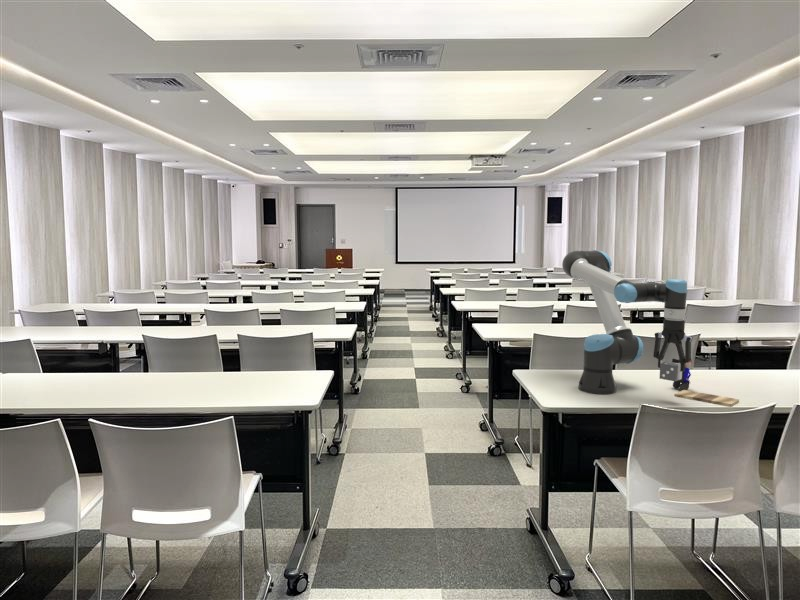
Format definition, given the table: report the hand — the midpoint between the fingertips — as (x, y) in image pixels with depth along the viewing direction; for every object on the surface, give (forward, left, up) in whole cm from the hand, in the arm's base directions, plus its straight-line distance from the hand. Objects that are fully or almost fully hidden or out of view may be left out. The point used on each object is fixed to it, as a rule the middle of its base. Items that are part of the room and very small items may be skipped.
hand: (670, 377), depth 228 cm
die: (0, 0, 0) cm, 0 cm away
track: (+8, +16, -10) cm, 20 cm away
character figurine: (-4, +23, -10) cm, 26 cm away
